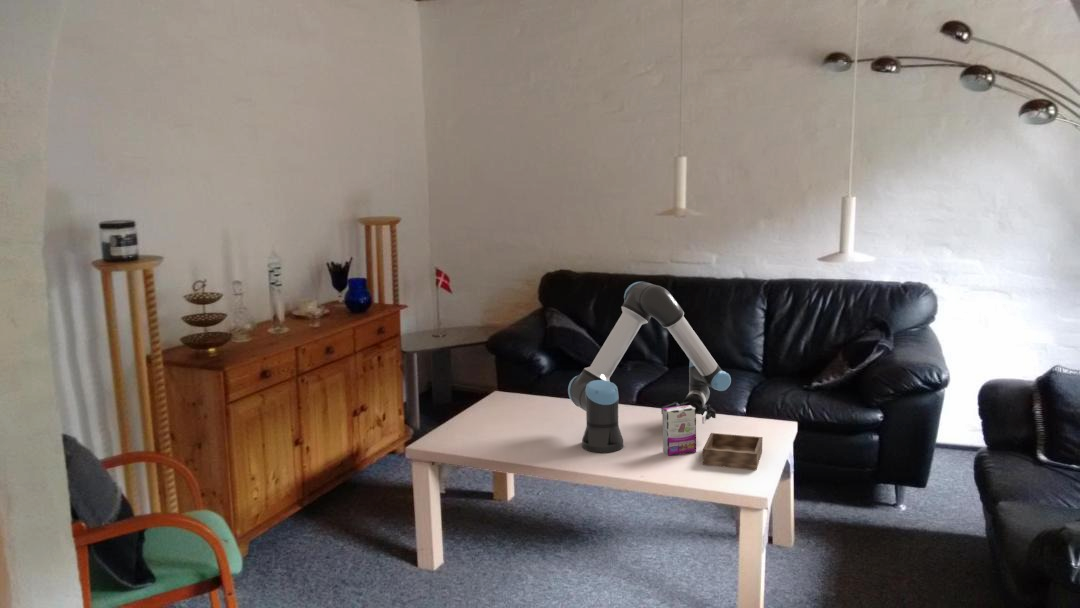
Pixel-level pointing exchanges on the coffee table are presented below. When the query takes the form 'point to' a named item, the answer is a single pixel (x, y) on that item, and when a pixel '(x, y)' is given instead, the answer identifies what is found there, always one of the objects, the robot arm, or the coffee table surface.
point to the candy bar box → (679, 430)
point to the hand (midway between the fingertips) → (684, 418)
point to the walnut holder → (732, 451)
